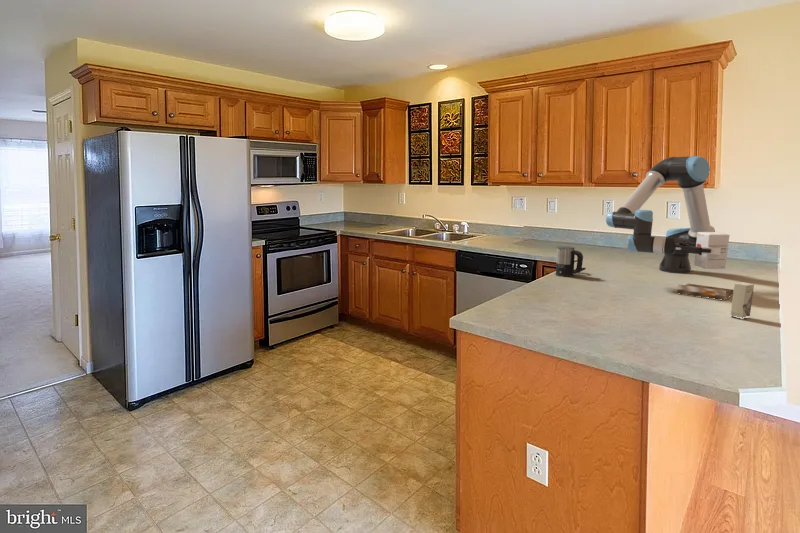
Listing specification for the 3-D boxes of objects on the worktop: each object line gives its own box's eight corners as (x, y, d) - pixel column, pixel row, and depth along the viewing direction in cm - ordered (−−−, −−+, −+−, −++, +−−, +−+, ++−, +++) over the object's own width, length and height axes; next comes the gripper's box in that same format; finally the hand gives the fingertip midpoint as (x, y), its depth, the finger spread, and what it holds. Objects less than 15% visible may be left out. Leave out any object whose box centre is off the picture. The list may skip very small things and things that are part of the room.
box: (742, 320, 182) (746, 285, 180) (729, 317, 186) (733, 283, 183) (750, 318, 184) (754, 284, 182) (737, 315, 188) (742, 281, 186)
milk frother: (553, 275, 260) (554, 247, 257) (559, 270, 273) (560, 243, 271) (581, 278, 253) (583, 249, 250) (586, 272, 267) (588, 245, 264)
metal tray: (676, 293, 221) (677, 284, 220) (687, 287, 232) (688, 279, 232) (724, 301, 209) (725, 291, 208) (733, 294, 220) (734, 285, 219)
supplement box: (692, 265, 224) (696, 231, 221) (713, 265, 224) (716, 231, 221) (705, 269, 215) (709, 234, 212) (725, 269, 215) (730, 234, 212)
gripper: (667, 250, 238) (720, 254, 226) (660, 257, 218) (718, 262, 207) (668, 234, 237) (722, 237, 225) (662, 240, 217) (721, 244, 205)
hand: (721, 249), depth 216 cm, fingers closed on supplement box, 12 cm apart
